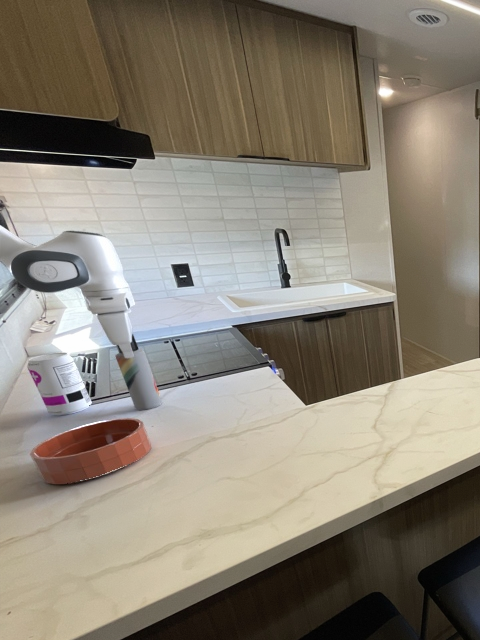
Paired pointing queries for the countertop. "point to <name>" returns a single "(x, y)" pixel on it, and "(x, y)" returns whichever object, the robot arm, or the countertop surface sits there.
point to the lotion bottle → (139, 378)
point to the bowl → (91, 450)
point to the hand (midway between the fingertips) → (130, 354)
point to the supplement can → (59, 383)
